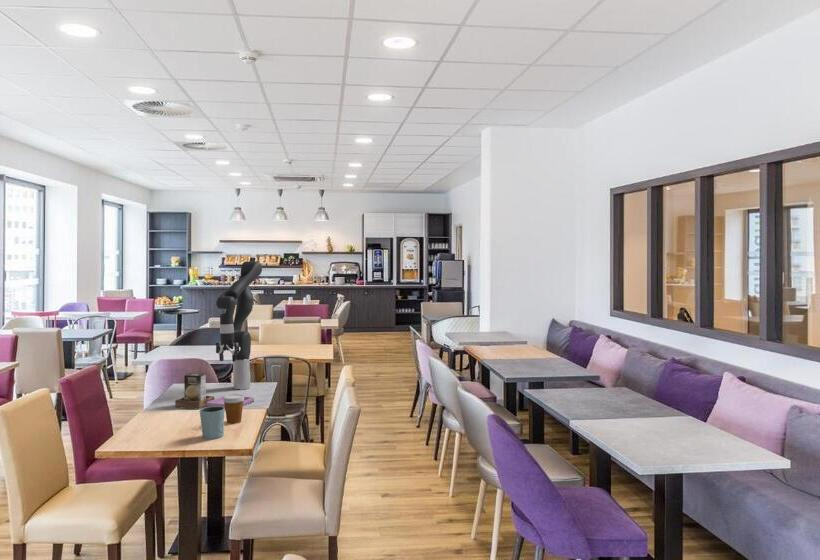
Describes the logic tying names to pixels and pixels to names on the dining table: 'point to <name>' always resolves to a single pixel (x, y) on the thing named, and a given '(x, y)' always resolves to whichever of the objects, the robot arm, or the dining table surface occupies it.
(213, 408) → the teal cup
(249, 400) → the tray
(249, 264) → the robot arm
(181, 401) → the holder
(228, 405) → the disposable coffee cup
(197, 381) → the coffee box
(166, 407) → the dining table surface
